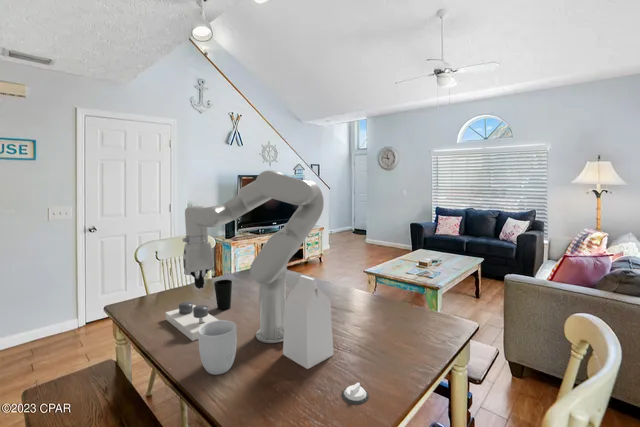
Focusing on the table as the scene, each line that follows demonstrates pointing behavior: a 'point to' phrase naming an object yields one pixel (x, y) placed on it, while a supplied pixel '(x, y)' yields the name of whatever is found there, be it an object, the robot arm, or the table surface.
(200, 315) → the knob near
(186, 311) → the knob far
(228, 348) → the mug
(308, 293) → the milk
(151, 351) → the table surface
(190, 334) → the mount
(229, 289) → the cup
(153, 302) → the table surface
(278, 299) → the robot arm
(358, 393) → the stove knob
